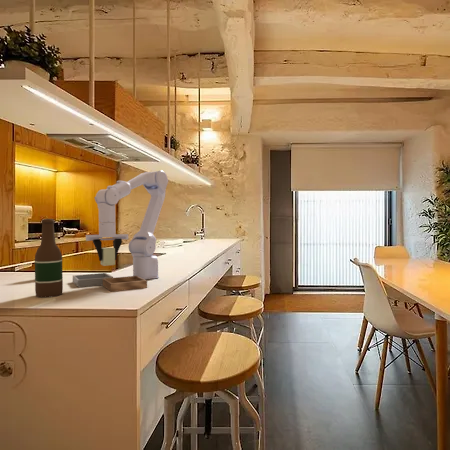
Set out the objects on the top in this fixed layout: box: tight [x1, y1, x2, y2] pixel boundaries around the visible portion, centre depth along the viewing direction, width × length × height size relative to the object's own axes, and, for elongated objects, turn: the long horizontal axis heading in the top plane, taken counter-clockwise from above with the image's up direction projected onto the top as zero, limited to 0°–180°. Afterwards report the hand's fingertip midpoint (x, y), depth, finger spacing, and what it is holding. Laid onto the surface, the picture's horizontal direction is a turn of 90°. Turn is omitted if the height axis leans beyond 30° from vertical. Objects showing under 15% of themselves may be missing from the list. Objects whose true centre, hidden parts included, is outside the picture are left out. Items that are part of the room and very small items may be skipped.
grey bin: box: [72, 272, 114, 288], centre depth 137 cm, size 12×12×2 cm
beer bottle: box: [34, 218, 64, 299], centre depth 116 cm, size 8×8×24 cm
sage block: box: [100, 247, 116, 267], centre depth 133 cm, size 4×4×6 cm
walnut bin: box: [102, 275, 148, 292], centre depth 129 cm, size 12×12×2 cm
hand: (107, 260), depth 133 cm, fingers closed on sage block, 4 cm apart
